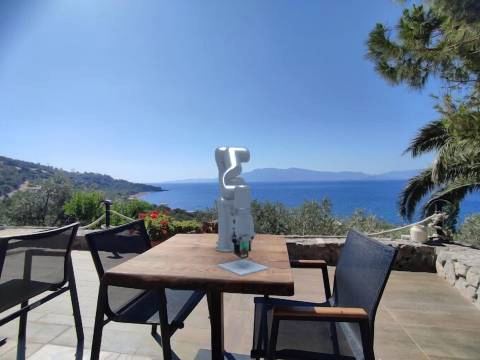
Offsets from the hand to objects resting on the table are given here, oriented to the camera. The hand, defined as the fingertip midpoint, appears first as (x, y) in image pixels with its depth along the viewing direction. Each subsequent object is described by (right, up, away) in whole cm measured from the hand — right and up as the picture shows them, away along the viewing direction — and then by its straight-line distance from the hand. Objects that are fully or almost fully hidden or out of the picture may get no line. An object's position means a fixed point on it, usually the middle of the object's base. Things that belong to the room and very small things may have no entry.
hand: (242, 251), depth 127 cm
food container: (0, -2, 0) cm, 2 cm away
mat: (0, -7, 0) cm, 7 cm away
